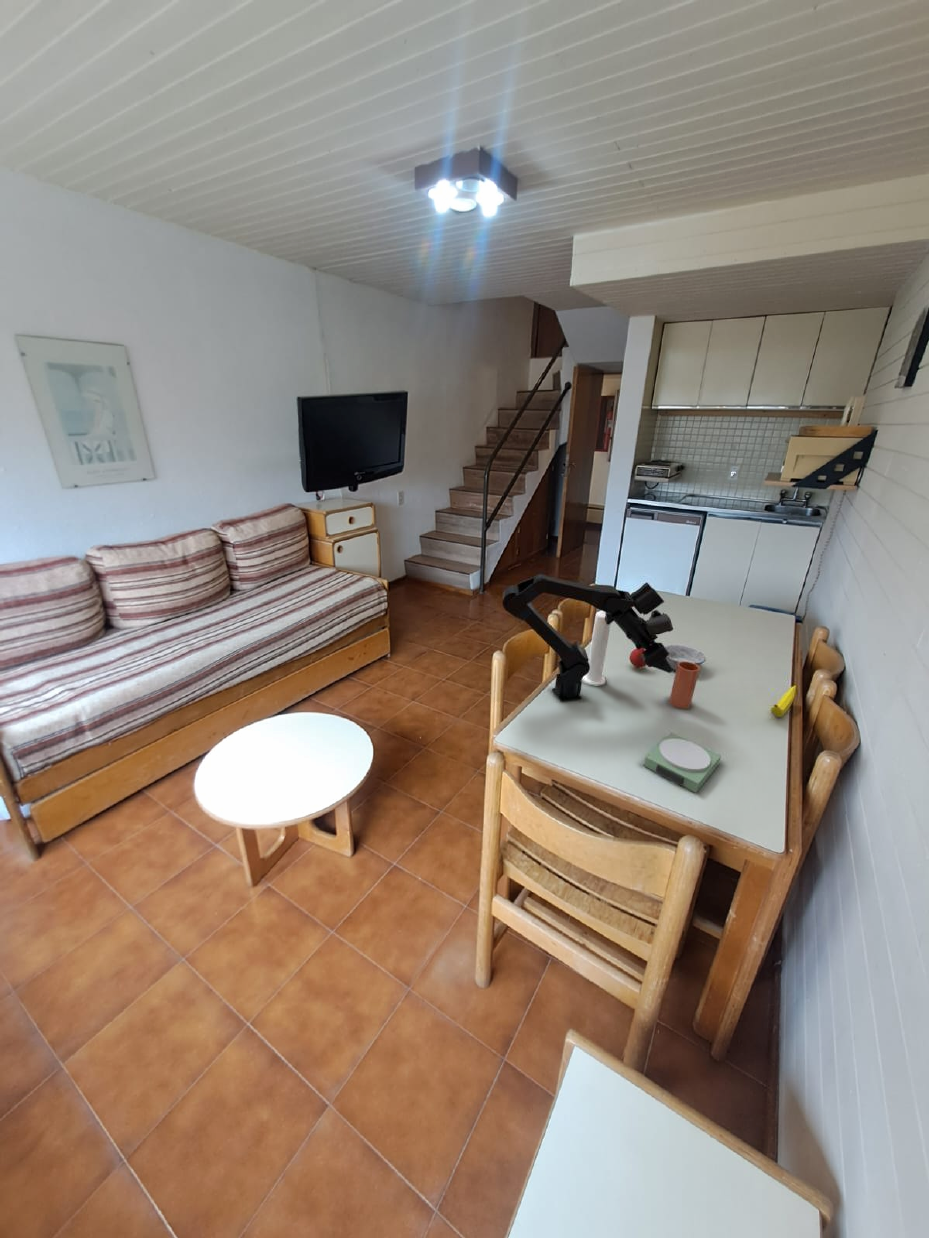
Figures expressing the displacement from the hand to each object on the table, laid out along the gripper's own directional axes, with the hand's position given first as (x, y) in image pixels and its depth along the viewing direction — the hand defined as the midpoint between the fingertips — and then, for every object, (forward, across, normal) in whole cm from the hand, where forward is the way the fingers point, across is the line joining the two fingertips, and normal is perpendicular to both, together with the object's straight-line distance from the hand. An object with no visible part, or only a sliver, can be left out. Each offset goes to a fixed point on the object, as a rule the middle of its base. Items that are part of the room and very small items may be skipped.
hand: (665, 663), depth 135 cm
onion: (+8, +20, +10) cm, 23 cm away
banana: (+32, -1, -15) cm, 36 cm away
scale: (+7, -28, +10) cm, 30 cm away
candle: (-3, +10, +20) cm, 23 cm away
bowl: (+19, +23, -1) cm, 30 cm away
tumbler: (+13, 0, +4) cm, 14 cm away
